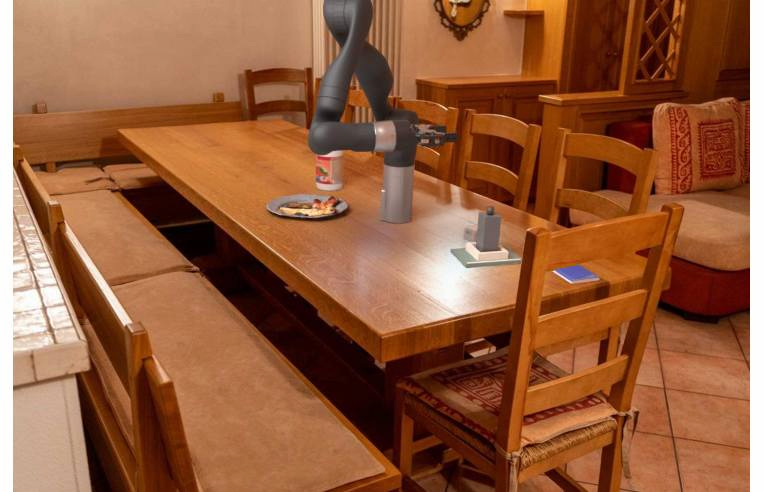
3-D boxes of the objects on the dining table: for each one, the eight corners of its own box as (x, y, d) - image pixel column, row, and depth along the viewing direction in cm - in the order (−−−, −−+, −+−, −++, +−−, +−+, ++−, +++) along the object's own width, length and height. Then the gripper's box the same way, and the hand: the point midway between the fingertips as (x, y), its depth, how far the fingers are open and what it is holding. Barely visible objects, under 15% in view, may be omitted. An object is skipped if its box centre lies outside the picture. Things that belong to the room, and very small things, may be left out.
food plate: (356, 203, 224) (356, 193, 223) (337, 226, 202) (337, 215, 201) (283, 198, 229) (282, 188, 227) (257, 220, 207) (256, 209, 206)
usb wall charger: (463, 239, 195) (464, 226, 194) (479, 234, 199) (481, 221, 198) (473, 243, 192) (474, 230, 191) (490, 238, 197) (491, 225, 195)
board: (465, 267, 175) (466, 256, 174) (450, 252, 185) (451, 241, 184) (522, 263, 179) (524, 252, 178) (504, 248, 189) (506, 238, 188)
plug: (481, 257, 179) (486, 209, 175) (475, 251, 183) (479, 204, 179) (498, 256, 180) (503, 209, 176) (491, 250, 184) (496, 204, 180)
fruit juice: (344, 191, 237) (345, 109, 227) (316, 191, 235) (316, 109, 225) (341, 183, 245) (342, 104, 236) (314, 184, 244) (314, 104, 234)
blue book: (600, 276, 170) (570, 258, 181) (572, 280, 168) (543, 261, 178) (599, 282, 171) (569, 264, 182) (571, 285, 168) (543, 267, 179)
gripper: (399, 127, 161) (463, 124, 165) (382, 115, 173) (442, 113, 178) (398, 158, 164) (461, 155, 168) (381, 144, 176) (441, 141, 180)
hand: (451, 133), depth 173 cm, fingers open, 8 cm apart
